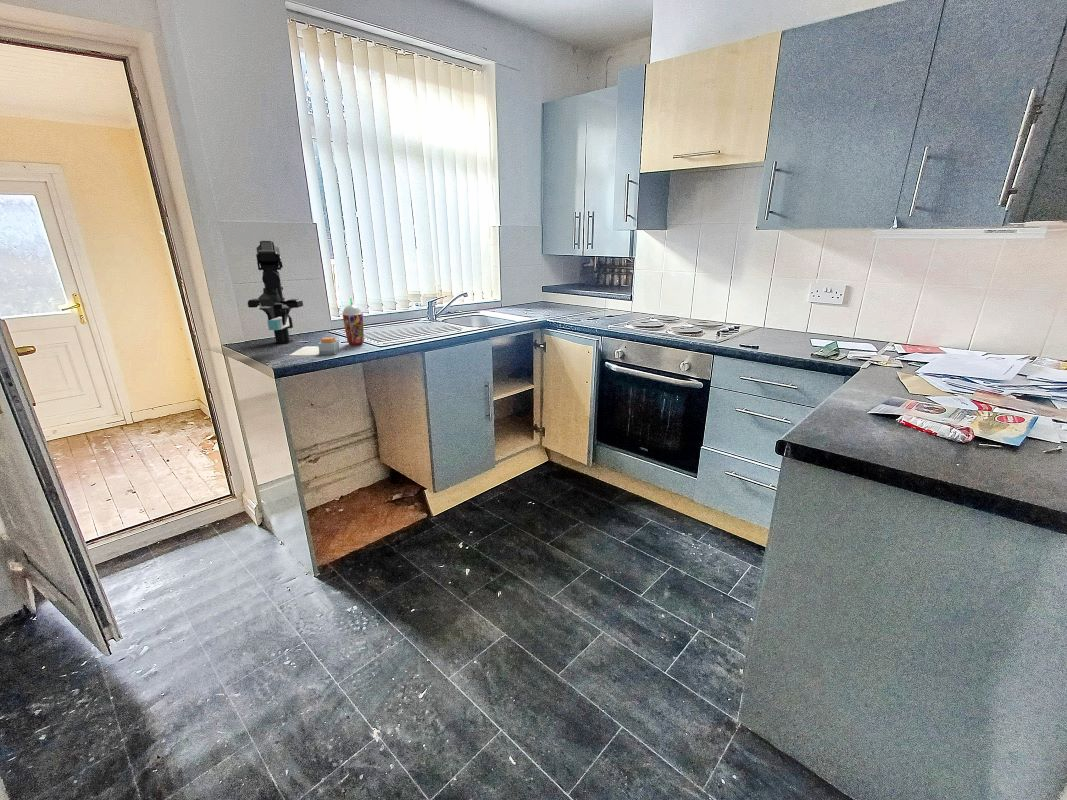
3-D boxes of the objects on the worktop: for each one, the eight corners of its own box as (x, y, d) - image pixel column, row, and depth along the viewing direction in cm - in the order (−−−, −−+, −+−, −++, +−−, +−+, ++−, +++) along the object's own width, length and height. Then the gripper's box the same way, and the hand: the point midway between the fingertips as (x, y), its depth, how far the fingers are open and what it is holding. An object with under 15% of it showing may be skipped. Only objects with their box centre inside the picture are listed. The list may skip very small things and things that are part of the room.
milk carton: (280, 325, 189) (279, 316, 188) (289, 325, 190) (288, 316, 189) (268, 330, 180) (267, 320, 179) (278, 330, 180) (277, 320, 179)
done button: (325, 344, 189) (324, 337, 188) (335, 344, 189) (334, 337, 188) (321, 346, 185) (320, 339, 184) (332, 346, 186) (331, 339, 185)
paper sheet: (304, 346, 199) (304, 346, 198) (330, 346, 199) (330, 346, 199) (288, 355, 183) (288, 355, 183) (317, 355, 184) (317, 355, 184)
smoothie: (364, 346, 201) (359, 299, 194) (344, 346, 199) (338, 299, 193) (367, 342, 208) (362, 297, 202) (348, 342, 207) (342, 297, 201)
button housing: (324, 351, 191) (323, 340, 189) (339, 351, 191) (338, 340, 190) (319, 354, 185) (318, 343, 184) (335, 354, 186) (333, 343, 184)
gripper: (236, 286, 171) (244, 328, 176) (288, 287, 173) (294, 328, 178) (251, 284, 182) (258, 323, 187) (300, 284, 183) (306, 324, 188)
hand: (279, 325), depth 185 cm, fingers closed on milk carton, 4 cm apart
